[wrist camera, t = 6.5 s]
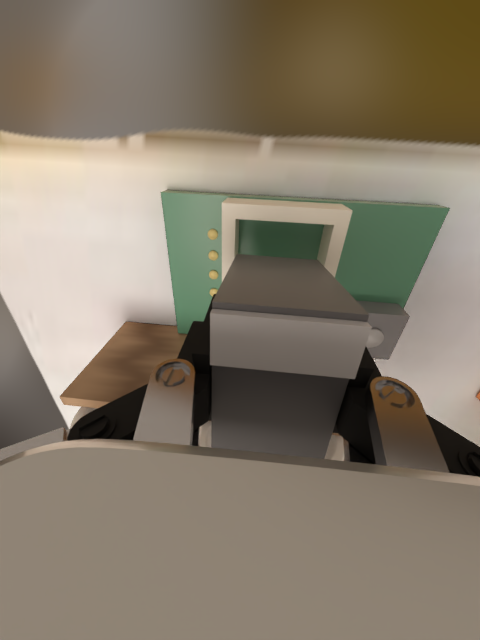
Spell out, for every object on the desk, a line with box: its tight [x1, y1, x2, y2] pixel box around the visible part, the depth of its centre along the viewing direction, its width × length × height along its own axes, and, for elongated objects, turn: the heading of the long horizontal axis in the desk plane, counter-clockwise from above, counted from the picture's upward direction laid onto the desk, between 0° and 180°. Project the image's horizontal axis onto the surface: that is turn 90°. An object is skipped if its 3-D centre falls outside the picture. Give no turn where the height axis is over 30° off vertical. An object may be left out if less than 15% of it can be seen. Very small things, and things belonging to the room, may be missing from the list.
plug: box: [210, 254, 372, 459], centre depth 11 cm, size 4×7×7 cm, turn 177°
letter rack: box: [60, 322, 345, 461], centre depth 21 cm, size 21×7×9 cm, turn 88°
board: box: [161, 190, 450, 359], centre depth 18 cm, size 18×11×4 cm, turn 88°
